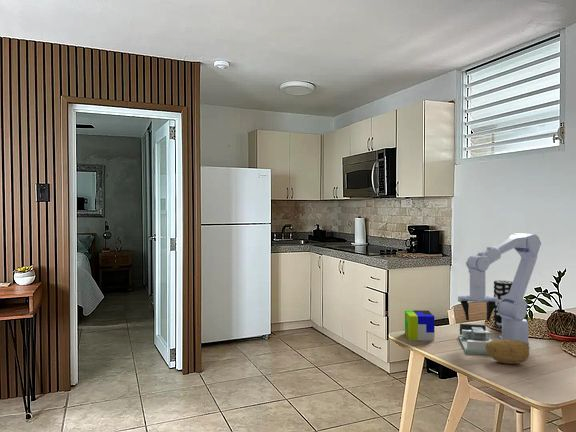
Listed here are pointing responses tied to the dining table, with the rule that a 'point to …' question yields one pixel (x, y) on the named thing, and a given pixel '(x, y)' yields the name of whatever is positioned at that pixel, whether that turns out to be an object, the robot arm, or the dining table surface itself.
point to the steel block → (478, 334)
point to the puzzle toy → (419, 325)
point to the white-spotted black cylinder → (500, 298)
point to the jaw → (466, 330)
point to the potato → (508, 351)
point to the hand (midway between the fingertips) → (477, 320)
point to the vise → (474, 346)
